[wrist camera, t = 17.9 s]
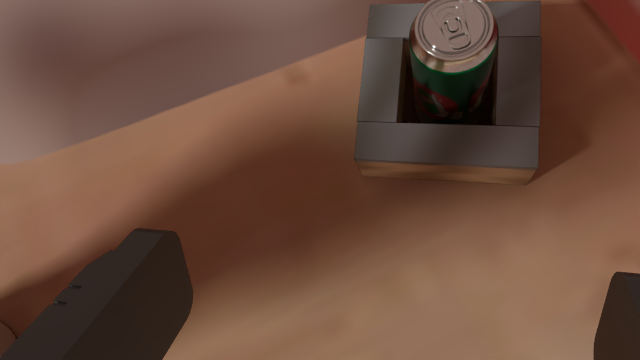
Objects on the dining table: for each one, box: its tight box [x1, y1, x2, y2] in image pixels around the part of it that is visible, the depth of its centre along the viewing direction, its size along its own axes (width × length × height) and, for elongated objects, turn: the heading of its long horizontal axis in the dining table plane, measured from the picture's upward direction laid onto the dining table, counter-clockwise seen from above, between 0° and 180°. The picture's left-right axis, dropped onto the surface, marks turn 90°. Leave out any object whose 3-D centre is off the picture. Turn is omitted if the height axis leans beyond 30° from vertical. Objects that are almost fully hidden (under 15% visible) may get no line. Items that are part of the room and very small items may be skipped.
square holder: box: [354, 1, 541, 185], centre depth 38 cm, size 12×12×5 cm
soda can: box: [409, 0, 499, 125], centre depth 34 cm, size 5×5×12 cm
